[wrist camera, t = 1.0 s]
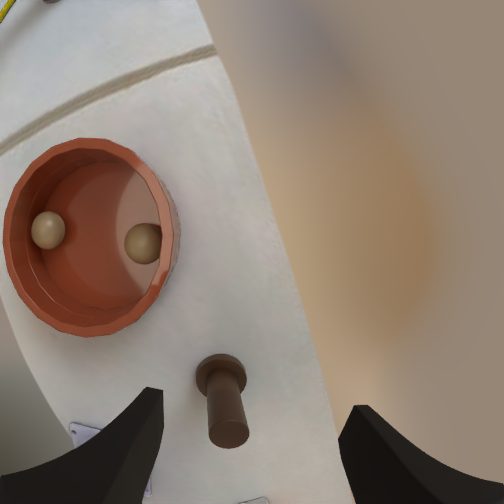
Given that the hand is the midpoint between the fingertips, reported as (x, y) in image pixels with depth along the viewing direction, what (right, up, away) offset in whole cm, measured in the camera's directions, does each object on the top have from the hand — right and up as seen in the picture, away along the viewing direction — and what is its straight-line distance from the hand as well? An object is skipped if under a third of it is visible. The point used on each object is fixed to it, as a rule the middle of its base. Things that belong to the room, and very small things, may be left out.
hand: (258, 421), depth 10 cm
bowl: (-12, +7, +11) cm, 18 cm away
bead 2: (-7, +7, +10) cm, 14 cm away
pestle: (-3, -4, +13) cm, 14 cm away
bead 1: (-15, +8, +8) cm, 19 cm away
